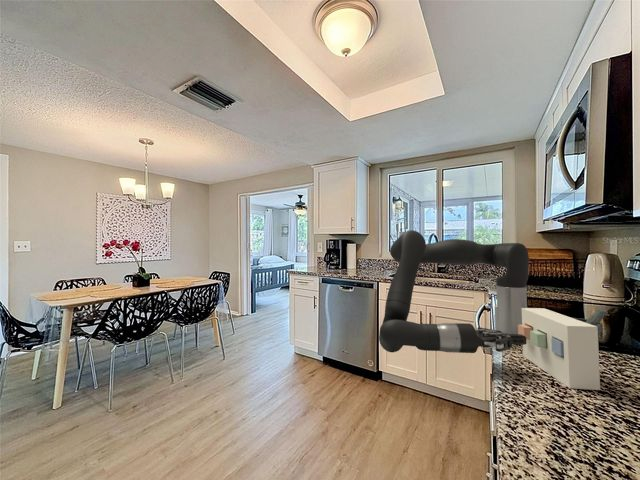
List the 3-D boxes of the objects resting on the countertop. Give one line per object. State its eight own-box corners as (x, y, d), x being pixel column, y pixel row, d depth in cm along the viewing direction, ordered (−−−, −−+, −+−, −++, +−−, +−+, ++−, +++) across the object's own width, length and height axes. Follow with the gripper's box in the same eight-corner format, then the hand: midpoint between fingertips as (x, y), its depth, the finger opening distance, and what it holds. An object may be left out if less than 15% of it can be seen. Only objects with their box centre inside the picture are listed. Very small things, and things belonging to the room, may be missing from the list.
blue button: (560, 356, 65) (560, 342, 65) (551, 351, 68) (551, 338, 69) (570, 356, 65) (569, 342, 65) (560, 351, 68) (560, 338, 68)
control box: (569, 388, 63) (567, 325, 64) (523, 355, 82) (521, 307, 82) (600, 390, 62) (597, 326, 63) (545, 356, 81) (544, 308, 81)
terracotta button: (524, 339, 77) (524, 327, 77) (518, 335, 81) (517, 324, 81) (532, 339, 77) (532, 327, 77) (526, 335, 80) (525, 324, 80)
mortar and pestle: (562, 342, 92) (560, 306, 93) (562, 335, 99) (561, 301, 100) (610, 350, 85) (609, 311, 85) (607, 342, 92) (606, 306, 92)
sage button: (537, 347, 71) (537, 334, 72) (530, 342, 75) (530, 330, 75) (546, 347, 71) (545, 334, 71) (538, 343, 74) (538, 330, 74)
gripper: (462, 331, 69) (540, 332, 66) (446, 317, 82) (510, 318, 80) (463, 361, 69) (541, 364, 66) (447, 343, 82) (511, 345, 79)
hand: (524, 339), depth 73 cm, fingers closed
